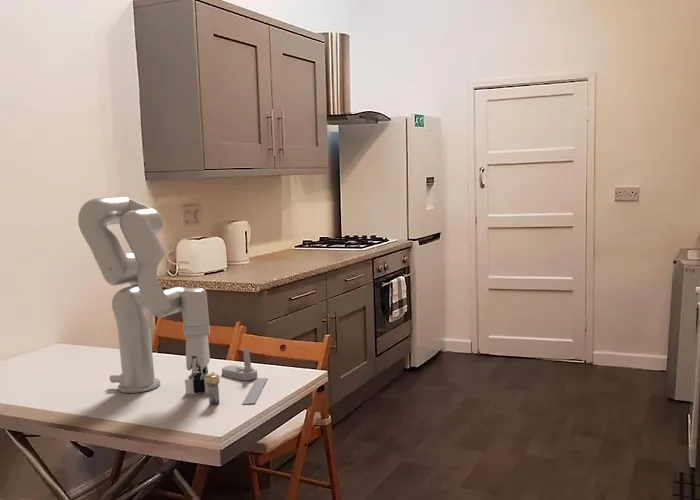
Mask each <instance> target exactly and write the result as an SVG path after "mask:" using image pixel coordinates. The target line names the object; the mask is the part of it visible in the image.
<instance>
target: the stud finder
mask: <svg viewBox="0 0 700 500" xmlns="http://www.w3.org/2000/svg"><path fill="white" fill-rule="evenodd" d="M212 374H215V372H214V371H211V372H210V373H208V375H212ZM208 375H206V373H203V379H204V384H205V392H204V393H203V394H209V392H208V385H207V384H206V376H208ZM184 382H185V383H184V384H185V385H184V386H185V394H186V395H197V394H198V395H199V394H201V393H194V387H193V376H192V373H190V374H189V375H188V376H187V377H185V379H184Z"/></svg>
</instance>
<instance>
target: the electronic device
mask: <svg viewBox="0 0 700 500" xmlns="http://www.w3.org/2000/svg"><path fill="white" fill-rule="evenodd" d="M242 349H243V350H242V351H243V353H242V354H243V366H240V365H235V364H234V365H232V364H231V365H227V366H226V365H225V366H223V367H222V368H221V375H222V376H223V377H227V378H232V379H236V380H241V381H252V380H256V379H258V371H257V369H254V368H253V367H252V363H251V362H252V361H251V358H250V348H248V347H245V348H242Z"/></svg>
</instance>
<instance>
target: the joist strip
mask: <svg viewBox="0 0 700 500" xmlns="http://www.w3.org/2000/svg"><path fill="white" fill-rule="evenodd" d="M267 381H268V377H264V378H263V377H262V378H258V377H257V378H256V379H254V382H253V384H252V386H251V388H250V389H249V391H248V393H247V395H246V396H245V397H244V400H243V402H242V403H241V405H242V406H243V405H246V406H247V405H256V403H257V400H258V399H259V397H260V395H261V393H262V391H263V389H264V387H265V385H266V383H267Z"/></svg>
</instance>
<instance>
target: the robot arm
mask: <svg viewBox="0 0 700 500" xmlns="http://www.w3.org/2000/svg"><path fill="white" fill-rule="evenodd" d="M77 217H78V219H77V220H78V221H77V222H78V228H79V231H80V232H81V235H82V236H83V238H84V240H85V242H86V243H87V245H88V247H89V248H90V250H91V253H92V255H93V257H94V260H95V262H96V264H97V266H98V268H99V270H100V272H101V275H102V276H103V279H104V280H105V282H107V284H109V286H116V287H117V286H123V285H126V284H130V285H129V286H126V287H124V288H121V289H120V290H117V292H115V294H114V295H113V297H112V300H111V308H112V312H113V315H114V319H115V322H116V328H117V336H118V345H119V346H118V347H119V355H120V356H119V357H120V366H121V373H120V374H118V375H117V374H111V375H109V381H110V383H112V384H113V383H114V384H115V383H116V384H117V383H118V386H117V390H118V391H119V392H121V393H125V394H136V393H137V394H138V393H142V392H148V391H152V390H154V389H156V388H158V387H159V386H160V385H161V380H160V379H159V378H157V377H155V367H154V359H153V345H152V336H151V335H152V333H151V329H150V328H151V327H150V324H149V322H148V320H147V318H146V316H145V315H146V314H150V313H151V314H152V315H153V316H155V317H157V318H164V317H167V316H170V315H174V314H177V313H180V312H181V314H182V324H183V326H182V327H183V336H184V337H185V360H186V363H185V364H186V370H187V371H191V374H192V376H193V387H194V393H202V394H205V393H204V392H205V384H204V379H203V373H206V375H209V369H208V368H209V367H208V364H209V363H210V361H211V360H210V359H211V357H210V355H211V354H210V347H209V346H210V344H209V337H208V335H210V334H211V332H210V331H211V330H210V329H211V328H210V318H209V305H208V294H207V293H208V292H207V291H206V289H204V288H202V287H193V288H188V287H183V286H175V287H170V288H166V289H163V288H162V285H161V284H160V282H159V277H158V267H159V265H160V263H161V261H162V260H163V259H164V257H165V254H166V253H165V249H164V247H163V246H162V244H161V242H160V240H159V238H158V236H157V234H159V233H160V232H161V231H162V229H163V226H164V221H163V218H162V216H161V214H160V213H159V212H158V211H157V210H155V209H154V208H153V207H150V206H148V205H146V204H143V203H141V202H139V201H137V200H134V199H132V198H130V197H127V196H109V197H108V196H107V197H97V198H92V199H90V200H88V201H86V202H85V203H83V205H82V206H81V208H80V210H79V212H78V216H77ZM110 225H119V227H120V231H121V232H122V234H123V236H124V238H125V241H126V242H127V244H128V247H129V249H130V251H127V252H125V251H124V249H123V247H122V245H121V242H120V240H119V239H118V237H117V236H116V235H115V233H113V232H112V230H110V229H109V228H108V226H110Z"/></svg>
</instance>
